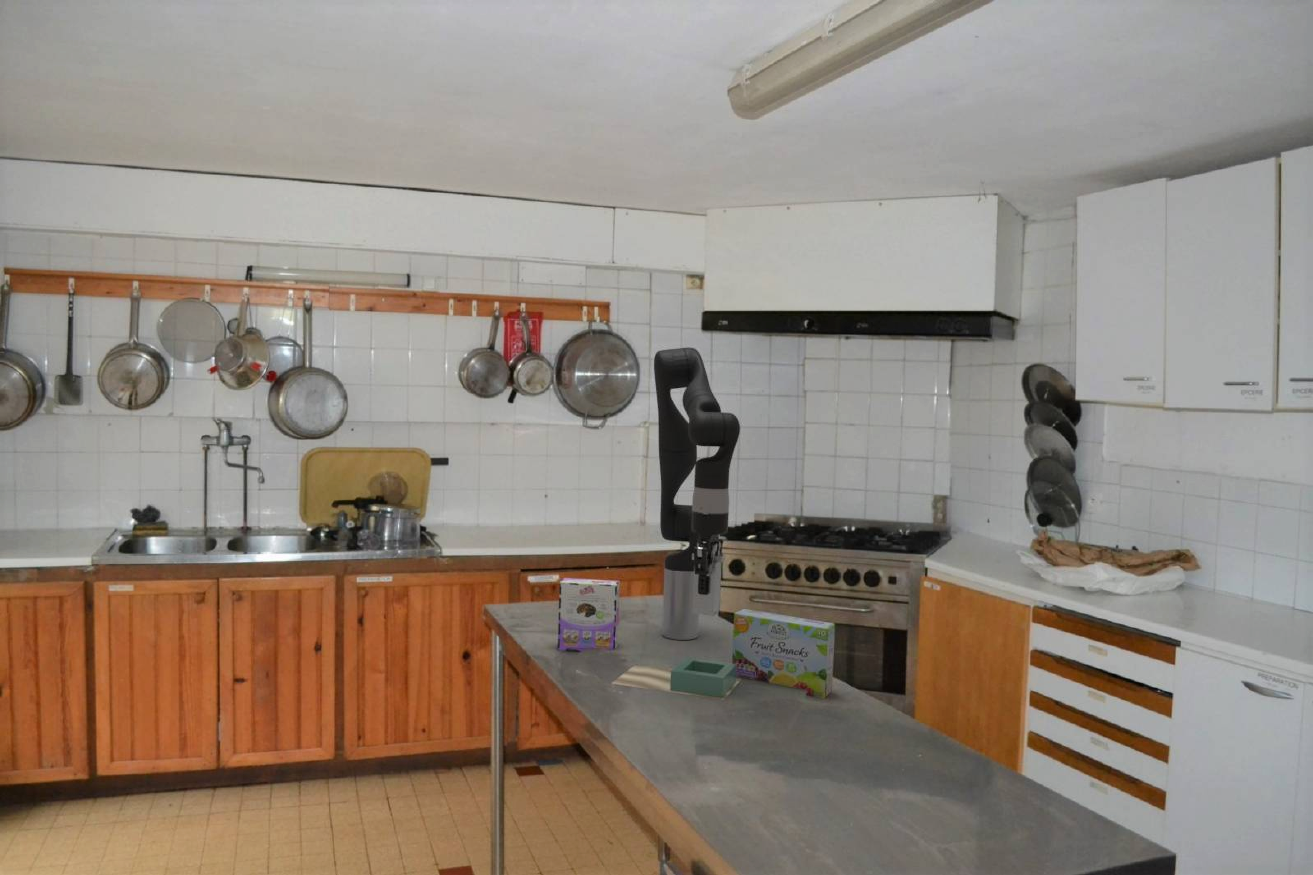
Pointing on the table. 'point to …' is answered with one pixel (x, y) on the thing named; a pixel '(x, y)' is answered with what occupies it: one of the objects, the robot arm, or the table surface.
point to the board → (654, 680)
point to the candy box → (588, 614)
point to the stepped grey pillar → (712, 600)
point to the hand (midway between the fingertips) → (706, 591)
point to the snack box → (784, 650)
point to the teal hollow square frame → (703, 677)
